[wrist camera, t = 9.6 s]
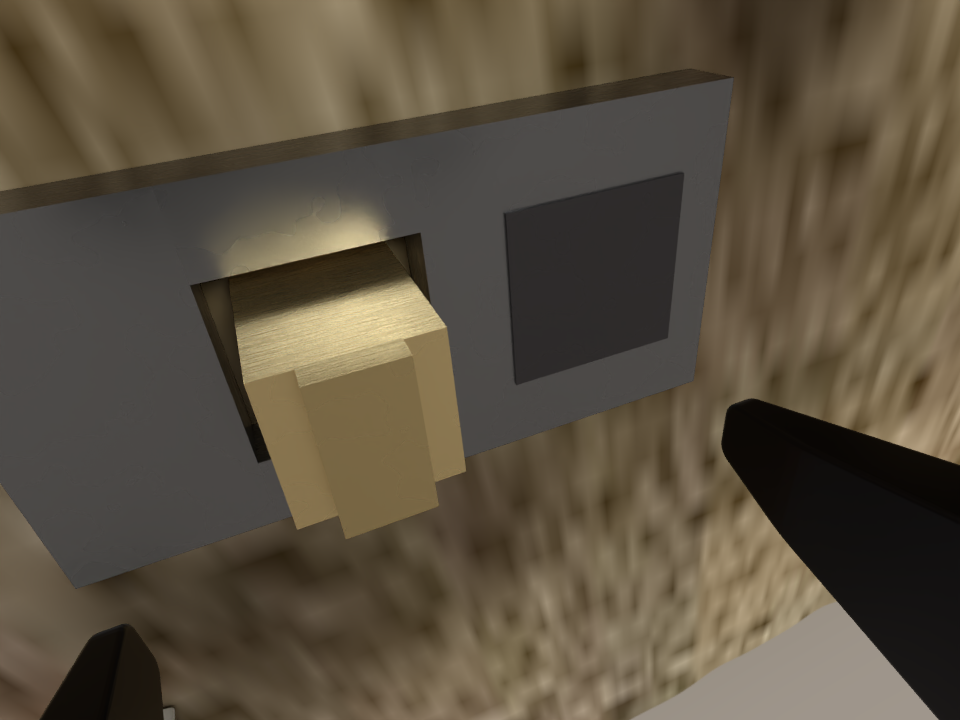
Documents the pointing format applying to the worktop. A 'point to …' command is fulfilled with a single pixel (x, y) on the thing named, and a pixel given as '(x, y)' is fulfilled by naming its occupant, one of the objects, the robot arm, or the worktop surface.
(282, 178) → the grey slotted board
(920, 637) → the robot arm
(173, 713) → the skincare box
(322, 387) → the stepped wooden chunk
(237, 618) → the worktop surface
